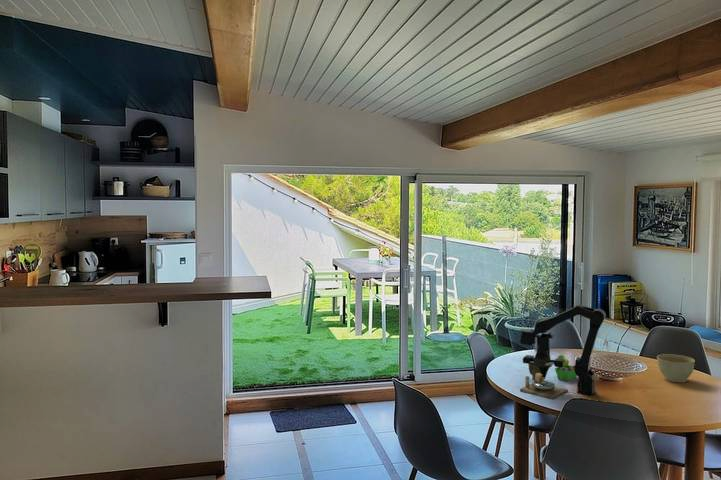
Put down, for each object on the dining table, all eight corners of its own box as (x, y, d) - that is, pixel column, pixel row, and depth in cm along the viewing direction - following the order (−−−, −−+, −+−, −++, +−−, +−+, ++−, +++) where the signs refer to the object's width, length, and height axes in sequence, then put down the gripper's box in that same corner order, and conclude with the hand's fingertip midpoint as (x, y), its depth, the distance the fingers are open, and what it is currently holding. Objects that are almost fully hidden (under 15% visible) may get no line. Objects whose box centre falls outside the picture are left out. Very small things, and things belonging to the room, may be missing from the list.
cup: (544, 381, 263) (544, 365, 262) (529, 380, 264) (529, 364, 264) (542, 376, 270) (542, 361, 270) (527, 375, 272) (527, 360, 271)
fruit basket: (568, 382, 261) (568, 359, 261) (551, 377, 268) (551, 355, 268) (580, 377, 269) (580, 355, 268) (563, 373, 275) (563, 352, 275)
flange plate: (557, 389, 242) (557, 382, 242) (535, 389, 243) (535, 382, 242) (548, 380, 257) (548, 373, 256) (527, 380, 257) (527, 373, 257)
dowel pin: (530, 386, 251) (530, 376, 251) (528, 387, 250) (528, 377, 250) (526, 385, 252) (526, 375, 252) (524, 386, 251) (524, 376, 251)
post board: (567, 391, 247) (567, 381, 247) (552, 399, 237) (552, 389, 237) (535, 383, 259) (535, 374, 259) (520, 390, 248) (520, 381, 248)
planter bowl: (657, 373, 275) (657, 352, 274) (694, 378, 266) (694, 356, 266) (655, 381, 261) (656, 359, 260) (694, 387, 253) (695, 364, 252)
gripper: (518, 348, 253) (519, 380, 253) (559, 352, 242) (560, 386, 243) (525, 343, 262) (526, 374, 262) (565, 347, 252) (566, 379, 252)
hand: (544, 378), depth 255 cm, fingers closed
